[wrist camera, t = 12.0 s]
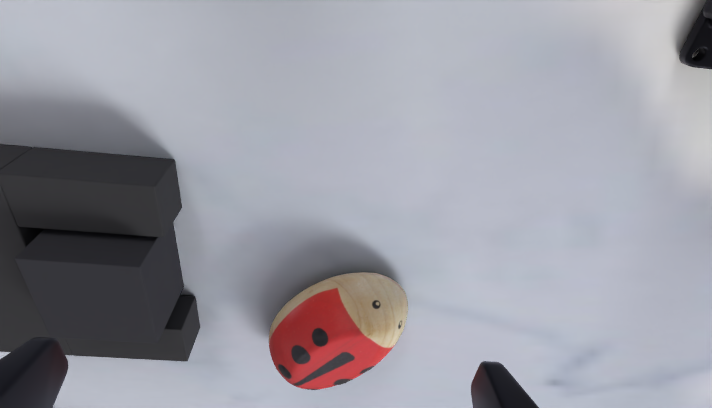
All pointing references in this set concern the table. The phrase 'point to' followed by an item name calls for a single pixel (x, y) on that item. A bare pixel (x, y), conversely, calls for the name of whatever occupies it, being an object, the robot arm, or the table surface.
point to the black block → (103, 283)
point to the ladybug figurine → (337, 329)
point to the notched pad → (89, 214)
